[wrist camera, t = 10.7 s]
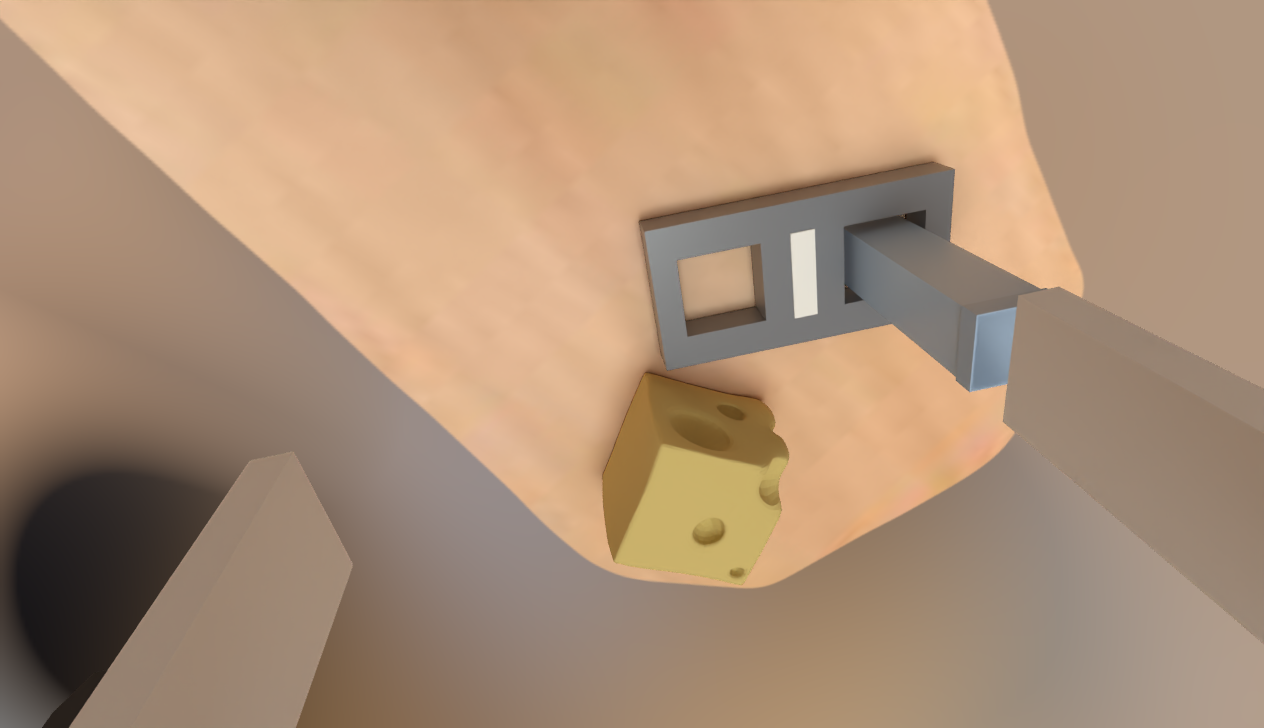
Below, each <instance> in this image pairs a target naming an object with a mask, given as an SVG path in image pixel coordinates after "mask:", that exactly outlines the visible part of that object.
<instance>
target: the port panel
mask: <svg viewBox="0 0 1264 728" xmlns="http://www.w3.org/2000/svg"><path fill="white" fill-rule="evenodd" d="M954 174H955V169H953V168H950V167H947V166H944V165H941V164H938V163H935V162H931V163H926V164H921V165H916V166H911V167H906V168H901V169H896V170H891V171H886V172H881V173H876V174H871V175H867V176H862V177H857V178H852V179H847V180H842V181H837V182H832V183H827V184H822V185H817V186H812V187H807V188H802V189H797V190H792V191H787V192H782V193H777V194H772V195H767V196H762V197H757V198H752V199H747V200H742V201H737V202H733V203H728V204H723V205H718V206H713V207H708V208H703V209H698V210H693V211H688V212H683V213H678V214H673V215H668V216H663V217H658V218H653V219H648V220H643V221H639V225H640V231H641V237H642V243H643V249H644V255H645V261H646V267H647V273H648V279H649V285H650V291H651V297H652V303H653V309H654V315H655V321H656V327H657V333H658V339H659V345H660V351H661V356H662V359H663V361H664V364H665V367H666V370H667V371H668V370H673V369H678V368H683V367H687V366H692V365H697V364H702V363H707V362H711V361H716V360H721V359H726V358H731V357H735V356H740V355H745V354H750V353H754V352H759V351H764V350H769V349H774V348H778V347H783V346H788V345H793V344H797V343H802V342H807V341H812V340H817V339H821V338H826V337H831V336H836V335H841V334H845V333H850V332H855V331H860V330H864V329H869V328H874V327H879V326H884V325H888V324H892V323H891V322H890V321H888V320H887V319H886V318H885V317H884V316H882V315H881V314H880V313H879V312H878V311H876V310H875V309H874V308H873V307H872V306H870V305H869V304H868V303H867V302H866V301H864V300H863V299H862V298H861V297H860V296H858V295H857V294H856V293H855V292H854V291H852V290H851V289H850V288H849V287H848V288H844V226H848V225H853V224H858V223H863V222H868V221H872V220H877V219H882V218H887V217H892V216H897V215H902V214H906V220H908V221H910V222H912V223H914V224H916V225H918V226H920V227H922V228H923V229H925V230H927V231H929V232H931V233H933V234H935V235H937V236H939V237H941V238H943V239H945V240H947V241H949V242H950V232H951V217H952V203H953V188H954ZM750 245H751V257H752V269H753V281H754V293H755V305H756V307H752V308H747V309H742V310H737V311H732V312H728V313H723V314H718V315H713V316H708V317H703V318H699V319H694V320H689V321H685V316H684V309H683V302H682V295H681V288H680V280H679V273H678V266H677V260H681V259H686V258H691V257H696V256H701V255H706V254H711V253H715V252H720V251H725V250H730V249H735V248H740V247H745V246H750Z"/></svg>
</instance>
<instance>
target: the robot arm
mask: <svg viewBox="0 0 1264 728" xmlns="http://www.w3.org/2000/svg"><path fill="white" fill-rule="evenodd" d="M1003 422H1004V423H1005V424H1006V425H1007V426H1008V427H1010V428H1011V429H1012V430H1013V431H1014V432H1015V433H1017V434H1018V435H1019V436H1020V437H1021V438H1023V439H1024V440H1025V441H1026V442H1027V443H1028V444H1030V445H1031V446H1032V447H1033V448H1034V449H1036V450H1037V451H1038V452H1039V453H1040V454H1041V455H1042V456H1044V457H1045V458H1046V459H1047V460H1048V461H1049V462H1051V463H1052V464H1053V465H1054V466H1055V467H1057V468H1058V469H1059V470H1060V471H1061V472H1062V473H1064V474H1065V475H1066V476H1067V477H1068V478H1069V479H1071V480H1072V481H1073V482H1074V483H1075V484H1077V485H1078V486H1079V487H1080V488H1081V489H1083V490H1084V491H1085V492H1086V493H1087V494H1088V495H1089V496H1091V497H1092V498H1093V499H1094V500H1095V501H1096V502H1098V503H1099V504H1100V505H1101V506H1103V508H1105V509H1106V510H1107V511H1108V512H1109V513H1111V514H1112V515H1113V516H1114V517H1115V518H1116V519H1118V520H1119V521H1120V522H1121V523H1122V524H1124V525H1125V526H1126V527H1127V528H1128V529H1129V530H1130V531H1132V532H1133V533H1134V534H1135V535H1136V536H1138V537H1139V538H1140V539H1141V540H1142V541H1143V542H1145V543H1146V544H1147V545H1148V546H1149V547H1151V548H1152V549H1153V550H1154V551H1155V552H1156V553H1158V554H1159V555H1160V556H1161V557H1162V558H1163V559H1165V560H1166V561H1167V562H1168V563H1169V564H1170V565H1172V566H1173V567H1174V568H1175V569H1176V570H1177V571H1179V572H1180V573H1181V574H1182V575H1183V576H1184V577H1186V578H1187V579H1188V580H1189V581H1190V582H1192V583H1193V584H1194V585H1195V586H1196V587H1197V588H1199V589H1200V590H1201V591H1202V592H1203V593H1205V594H1206V595H1207V596H1208V597H1209V598H1210V599H1212V600H1213V601H1214V602H1215V603H1216V604H1217V605H1219V606H1220V607H1221V608H1222V609H1223V610H1224V611H1226V612H1227V613H1228V614H1229V615H1230V616H1231V617H1233V618H1234V619H1235V620H1236V621H1237V622H1238V623H1240V624H1241V625H1242V626H1243V627H1244V628H1246V629H1247V630H1248V631H1249V632H1250V633H1251V634H1253V635H1254V636H1255V637H1256V638H1257V639H1258V640H1260V641H1261V642H1262V643H1263V644H1264V389H1263V388H1261V387H1259V386H1257V385H1255V384H1253V383H1251V382H1249V381H1247V380H1245V379H1243V378H1241V377H1239V376H1237V375H1235V374H1233V373H1231V372H1229V371H1227V370H1225V369H1223V368H1221V367H1219V366H1217V365H1215V364H1213V363H1211V362H1209V361H1207V360H1205V359H1203V358H1201V357H1199V356H1197V355H1195V354H1193V353H1191V352H1189V351H1187V350H1184V349H1183V348H1181V347H1179V346H1177V345H1175V344H1173V343H1171V342H1169V341H1167V340H1165V339H1163V338H1161V337H1158V336H1157V335H1154V334H1153V333H1151V332H1149V331H1147V330H1145V329H1143V328H1141V327H1139V326H1137V325H1135V324H1133V323H1131V322H1129V321H1127V320H1125V319H1123V318H1121V317H1119V316H1117V315H1115V314H1113V313H1111V312H1109V311H1107V310H1105V309H1103V308H1101V307H1099V306H1097V305H1095V304H1092V303H1090V302H1089V301H1087V300H1085V299H1083V298H1081V297H1079V296H1077V295H1075V294H1073V293H1071V292H1069V291H1066V290H1064V289H1062V288H1060V287H1056V288H1051V289H1046V290H1042V291H1037V292H1032V293H1028V294H1023V295H1018V301H1017V309H1016V317H1015V325H1014V334H1013V342H1012V350H1011V358H1010V366H1009V375H1008V383H1007V391H1006V399H1005V407H1004V416H1003ZM352 567H353V564H352V562H351V560H350V558H349V556H348V554H347V552H346V550H345V548H344V547H343V545H342V543H341V541H340V539H339V537H338V535H337V533H336V531H335V530H334V528H333V526H332V524H331V522H330V520H329V518H328V516H327V514H326V512H325V510H324V509H323V507H322V505H321V503H320V501H319V499H318V497H317V495H316V493H315V491H314V489H313V488H312V486H311V484H310V482H309V480H308V478H307V476H306V474H305V472H304V470H303V468H302V466H301V465H300V463H299V461H298V459H297V457H296V455H295V453H294V451H292V452H288V453H283V454H279V455H274V456H269V457H264V458H260V459H255V460H250V461H249V463H248V464H247V465H246V467H245V468H244V470H243V471H242V473H241V474H240V476H239V477H238V479H237V480H236V482H235V483H234V485H233V486H232V488H231V489H230V491H229V492H228V494H227V495H226V497H225V498H224V499H223V501H222V502H221V504H220V506H219V507H218V508H217V510H216V511H215V513H214V514H213V516H212V517H211V519H210V520H209V522H208V523H207V525H206V526H205V527H204V529H203V530H202V532H201V534H200V535H199V536H198V538H197V539H196V541H195V542H194V544H193V545H192V547H191V548H190V550H189V551H188V553H187V554H186V556H185V557H184V558H183V560H182V561H181V563H180V565H179V566H178V567H177V569H176V570H175V572H174V573H173V575H172V576H171V578H170V579H169V581H168V582H167V584H166V585H165V587H164V588H163V590H162V591H161V593H160V594H159V595H158V597H157V598H156V600H155V601H154V603H153V604H152V606H151V607H150V609H149V610H148V612H147V613H146V615H145V616H144V618H143V619H142V620H141V622H140V624H139V625H138V626H137V628H136V629H135V631H134V632H133V634H132V635H131V637H130V638H129V640H128V641H127V643H126V644H125V646H124V647H123V649H122V650H121V652H120V653H119V655H118V656H117V657H116V659H115V660H114V662H113V663H112V665H111V666H110V668H109V669H108V670H104V671H100V672H95V673H94V674H93V675H92V676H91V677H89V678H88V679H87V680H86V681H85V682H84V683H83V684H82V685H81V686H80V687H79V688H78V689H77V690H76V691H75V692H74V693H73V694H72V695H71V696H70V697H69V698H68V699H66V701H64V702H63V703H62V704H61V705H60V706H59V707H58V708H57V709H56V710H55V711H54V712H53V713H52V714H51V716H50V718H49V719H48V720H47V722H46V723H45V724H44V726H43V727H42V728H296V725H297V722H298V720H299V717H300V714H301V711H302V708H303V705H304V703H305V700H306V697H307V694H308V691H309V688H310V686H311V683H312V680H313V677H314V674H315V671H316V668H317V666H318V663H319V660H320V657H321V654H322V652H323V649H324V646H325V643H326V640H327V637H328V634H329V631H330V629H331V626H332V623H333V620H334V618H335V615H336V612H337V609H338V606H339V603H340V601H341V597H342V595H343V592H344V589H345V586H346V584H347V581H348V578H349V575H350V572H351V569H352Z"/></svg>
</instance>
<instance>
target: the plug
mask: <svg viewBox="0 0 1264 728" xmlns="http://www.w3.org/2000/svg"><path fill="white" fill-rule="evenodd" d="M844 284H845V285H846V286H848V287H849V288H850V289H851V290H852V291H854V292H855V293H856V294H857V295H858V296H860V297H861V298H862V299H863V300H864V301H866V302H867V303H868V304H869V305H870V306H872V307H873V308H874V309H875V310H876V311H878V312H879V313H880V314H881V315H882V316H884V317H885V318H886V319H887V320H888V321H890V322H891V323H892V324H893V325H894V326H896V327H897V328H898V329H899V330H900V331H902V332H903V333H904V334H905V335H906V336H908V337H909V338H910V339H911V340H912V341H914V342H915V343H916V344H917V345H918V346H920V347H921V348H922V349H923V350H924V351H926V352H927V353H928V354H929V355H930V356H932V357H933V358H934V359H935V360H936V361H938V362H939V363H940V364H941V365H942V366H944V367H945V368H946V369H947V370H948V371H950V372H951V373H952V374H953V375H954V376H956V381H957V382H958V383H959V384H961V385H962V386H963V387H964V388H965V389H966V390H968V391H969V392H972V391H977V390H981V389H986V388H991V387H996V386H1000V385H1005V384H1007V383H1008V375H1009V366H1010V358H1011V350H1012V342H1013V334H1014V325H1015V317H1016V309H1017V301H1018V295H1023V294H1028V293H1032V292H1037V291H1042V290H1046V289H1047V288H1044V289H1040V288H1038V287H1036V286H1034V285H1032V284H1030V283H1028V282H1026V281H1024V280H1022V279H1020V278H1018V277H1017V276H1015V275H1013V274H1011V273H1009V272H1007V271H1005V270H1003V269H1001V268H999V267H997V266H995V265H993V264H991V263H989V262H987V261H986V260H984V259H982V258H980V257H978V256H976V255H974V254H972V253H970V252H968V251H966V250H964V249H962V248H960V247H958V246H956V245H954V244H953V243H951V242H949V241H947V240H945V239H943V238H941V237H939V236H937V235H935V234H933V233H931V232H929V231H927V230H925V229H923V228H922V227H920V226H918V225H916V224H914V223H912V222H910V221H908V220H906V219H904V218H902V217H900V216H898V215H897V216H892V217H887V218H882V219H877V220H872V221H868V222H863V223H858V224H853V225H848V226H844Z"/></svg>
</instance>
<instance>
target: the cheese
mask: <svg viewBox="0 0 1264 728" xmlns="http://www.w3.org/2000/svg"><path fill="white" fill-rule="evenodd" d="M774 427H775V419H774V416H773V414H772V411H771V410H770V409H769V408H768V406H766V405H765V404H764V403H763V402H761V401H760V400H757V399H754V398H749V397H743V396H736V395H731V394H726V393H721V392H717V391H713V390H710V389H706V388H702V387H698V386H694V385H691V384H687V383H683V382H679V381H676V380H672V379H669V378H665V377H662V376H658V375H655V374H650V373H645V374H644V375H643V377H642V380H641V382H640V384H639V387H638V389H637V391H636V394H635V396H634V398H633V400H632V403H631V405H630V407H629V410H628V412H627V415H626V417H625V420H624V422H623V425H622V427H621V430H620V433H619V435H618V438H617V440H616V443H615V446H614V449H613V451H612V454H611V456H610V459H609V461H608V464H607V466H606V468H605V471H604V473H603V476H602V479H603V508H604V517H605V525H606V532H607V539H608V544H609V547H610V551H611V554H612V557H613V560H614V562H615V563H618V564H623V565H627V566H631V567H637V568H643V569H652V570H660V571H668V572H675V573H682V574H688V575H694V576H700V577H705V578H710V579H715V580H719V581H724V582H728V583H732V584H737V585H743V583H744V582H745V580H746V579H747V577H748V575H749V573H750V572H751V570H752V568H753V566H754V564H755V563H756V561H757V559H758V558H759V556H760V554H761V552H762V550H763V548H764V546H765V545H766V543H767V541H768V539H769V537H770V535H771V533H772V531H773V529H774V527H775V525H776V523H777V521H778V519H779V517H780V514H781V511H782V509H781V502H780V498H779V491H778V486H779V480H780V477H781V474H782V472H783V470H784V469H785V467H786V465H787V463H788V460H789V452H788V448H787V446H786V444H785V442H784V441H783V439H782V438H781V437H780V436H778V435H776V434H775V433H774V432H773V429H774Z"/></svg>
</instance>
